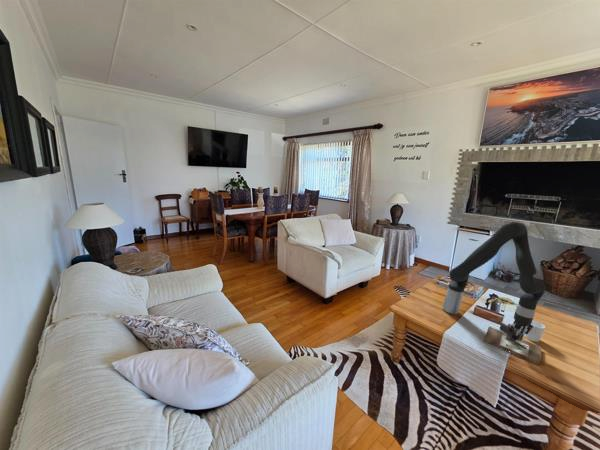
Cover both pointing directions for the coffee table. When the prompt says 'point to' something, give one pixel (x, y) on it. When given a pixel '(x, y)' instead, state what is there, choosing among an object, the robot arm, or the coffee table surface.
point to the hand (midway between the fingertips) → (516, 339)
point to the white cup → (535, 331)
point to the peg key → (510, 334)
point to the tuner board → (514, 345)
